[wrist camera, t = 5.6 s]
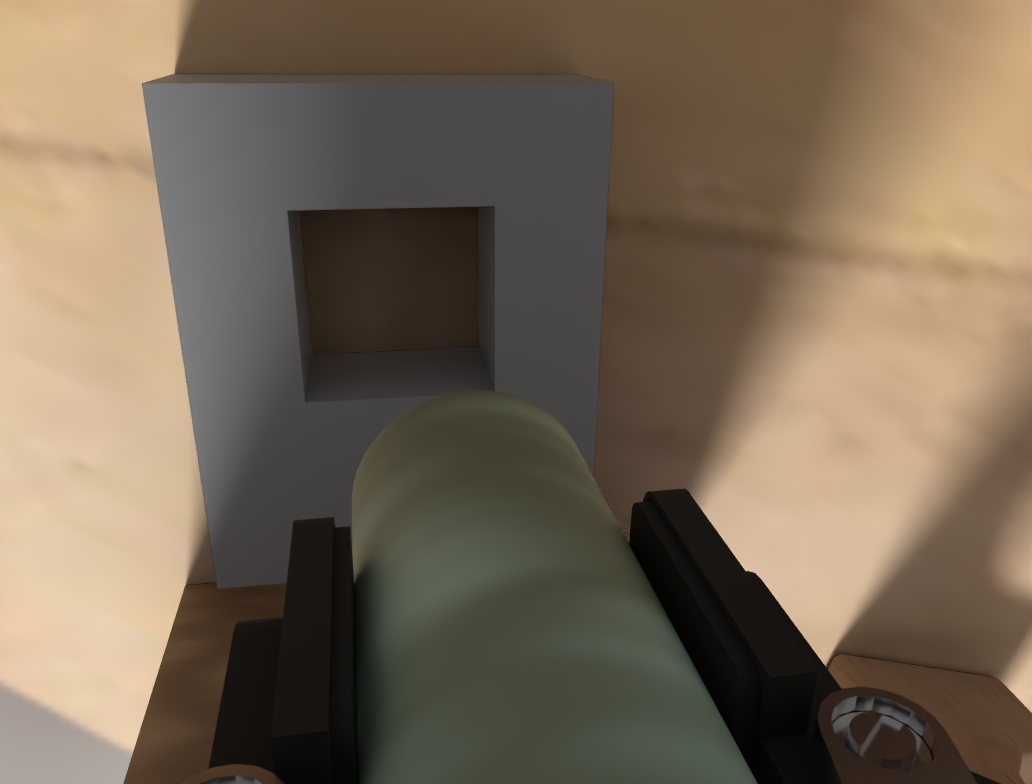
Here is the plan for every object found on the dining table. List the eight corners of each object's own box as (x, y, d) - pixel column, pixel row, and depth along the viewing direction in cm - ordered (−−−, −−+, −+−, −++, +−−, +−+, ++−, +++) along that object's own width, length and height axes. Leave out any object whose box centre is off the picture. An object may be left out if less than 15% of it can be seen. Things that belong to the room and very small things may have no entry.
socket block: (580, 74, 27) (613, 83, 23) (564, 497, 33) (589, 557, 29) (173, 74, 25) (141, 83, 21) (234, 522, 31) (217, 588, 27)
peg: (591, 384, 14) (1010, 1011, 5) (581, 585, 16) (890, 1334, 7) (343, 398, 14) (339, 1143, 5) (358, 607, 15) (375, 1468, 6)
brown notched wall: (671, 431, 32) (1063, 956, 14) (658, 577, 35) (977, 1179, 17) (165, 463, 30) (-145, 1161, 12) (190, 619, 32) (-30, 1391, 14)
